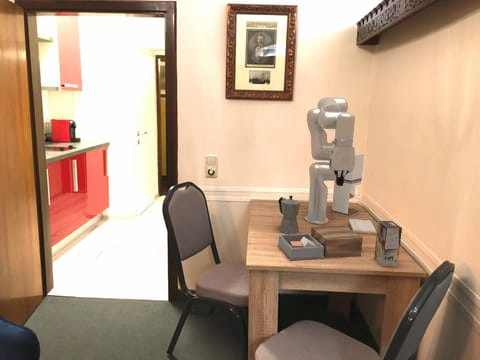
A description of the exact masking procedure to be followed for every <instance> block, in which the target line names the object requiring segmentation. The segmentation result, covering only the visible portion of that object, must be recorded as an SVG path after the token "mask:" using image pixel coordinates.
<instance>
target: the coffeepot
mask: <svg viewBox="0 0 480 360" xmlns="http://www.w3.org/2000/svg"><path fill="white" fill-rule="evenodd" d="M278 206H279V212H280V214H282V218H281V221H280V222H281V223H280V227H279V231H280V233H282V234H284V235H291V234H298V232H299V225H298V224H299V223H298V217H297V216H299V210H300V207H301V201H299V200H298V199H294V198H293V195H289V198H285V197H282V196H281V197H279V198H278Z"/></svg>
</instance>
